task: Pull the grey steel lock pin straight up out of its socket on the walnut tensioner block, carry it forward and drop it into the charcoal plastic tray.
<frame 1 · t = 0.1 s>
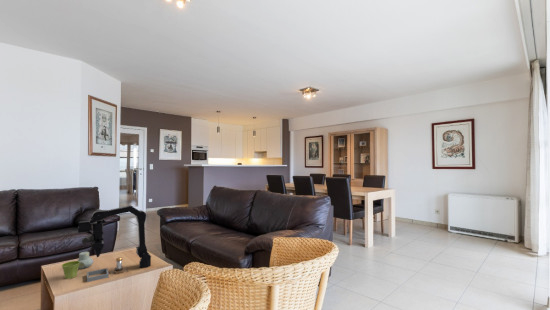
hand: (97, 255, 172), 15 cm above the table, fingers open, 9 cm apart
tensioner block: (119, 273, 179), on the table
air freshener: (84, 267, 190), on the table
lock pin: (119, 271, 179), point 1 cm above the table, touching tensioner block
tray: (97, 277, 172), on the table
plant pot: (70, 277, 173), on the table
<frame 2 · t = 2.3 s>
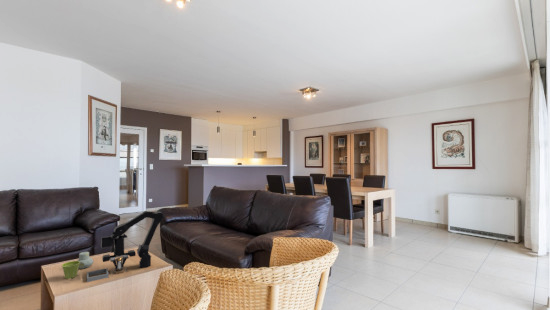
hand: (119, 268, 179), 3 cm above the table, fingers closed on lock pin, 3 cm apart
lock pin: (119, 271, 179), point 1 cm above the table, touching gripper, tensioner block
everything else where it was.
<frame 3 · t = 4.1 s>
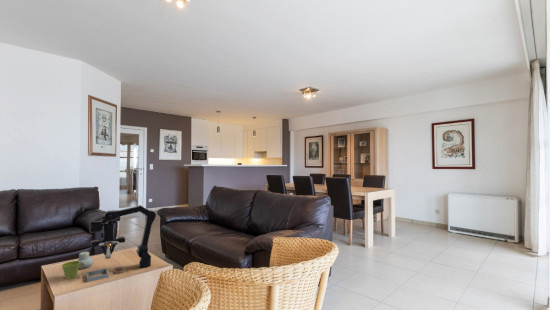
hand: (108, 254, 175), 14 cm above the table, fingers closed on lock pin, 3 cm apart
lock pin: (107, 258, 175), point 11 cm above the table, touching gripper
everything else where it was.
when the fingers open (5 cm above the table, at t = 6.2 s): lock pin drops 2 cm, resting on tray.
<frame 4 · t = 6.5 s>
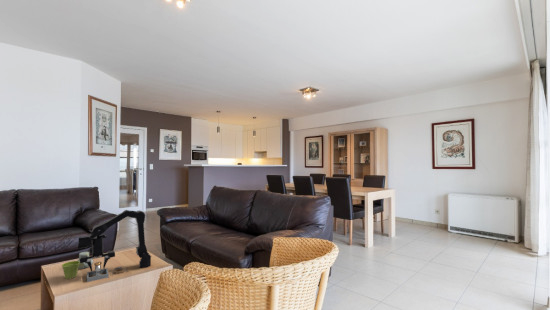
hand: (97, 270, 172), 5 cm above the table, fingers open, 6 cm apart
lock pin: (97, 276, 172), point 1 cm above the table, touching tray
everything else where it was.
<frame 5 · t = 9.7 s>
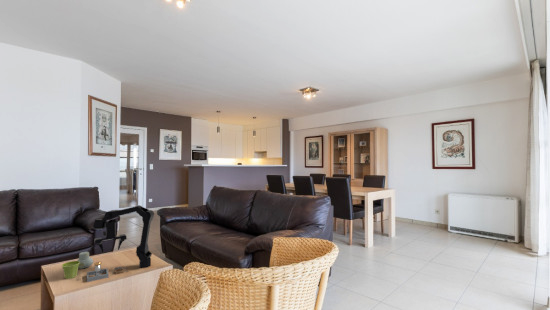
hand: (110, 251, 186), 12 cm above the table, fingers open, 9 cm apart
nothing on the table moved.
at the end: lock pin inside the target area on the tray (0.1 cm from its centre), point 0.6 cm above the tray's base; the gripper is holding nothing; lock pin touching tray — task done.
